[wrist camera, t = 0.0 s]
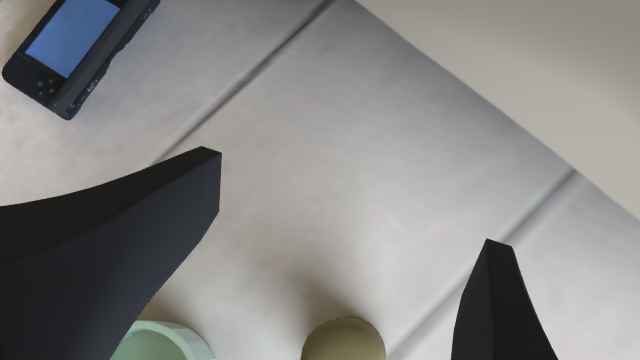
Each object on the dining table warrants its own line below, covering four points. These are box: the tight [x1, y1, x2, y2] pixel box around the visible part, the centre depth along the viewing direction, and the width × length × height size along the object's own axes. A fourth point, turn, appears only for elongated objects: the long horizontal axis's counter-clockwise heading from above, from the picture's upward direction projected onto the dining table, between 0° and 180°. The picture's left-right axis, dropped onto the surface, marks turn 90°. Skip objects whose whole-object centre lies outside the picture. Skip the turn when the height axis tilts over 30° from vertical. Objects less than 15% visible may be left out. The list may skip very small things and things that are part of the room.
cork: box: [301, 317, 386, 360], centre depth 39 cm, size 6×6×11 cm
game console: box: [2, 0, 160, 120], centre depth 50 cm, size 16×14×9 cm
